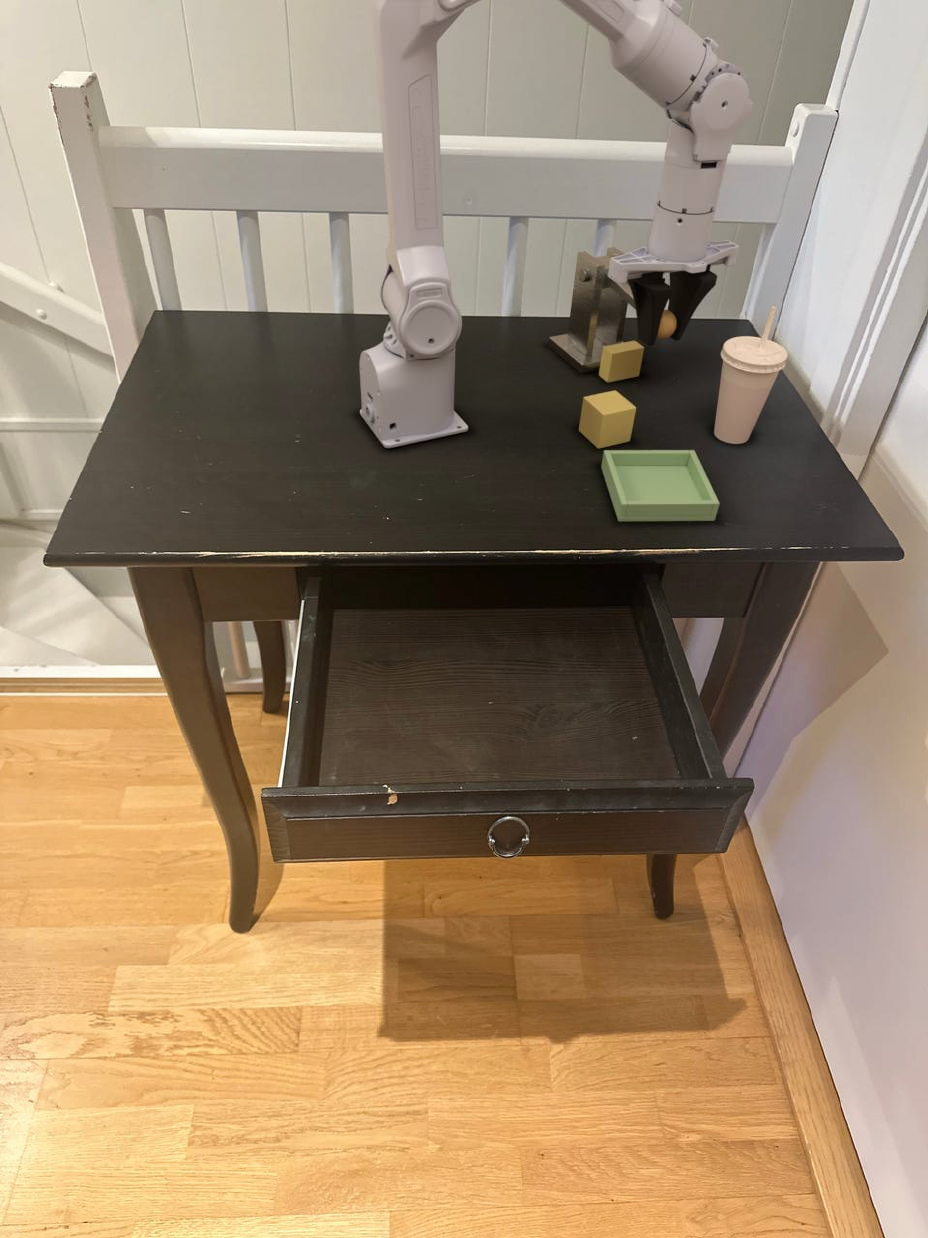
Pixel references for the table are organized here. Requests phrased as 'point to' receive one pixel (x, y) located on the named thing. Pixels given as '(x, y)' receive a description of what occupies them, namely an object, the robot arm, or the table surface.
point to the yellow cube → (607, 419)
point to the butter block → (621, 361)
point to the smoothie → (746, 382)
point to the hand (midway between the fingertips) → (658, 339)
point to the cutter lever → (624, 290)
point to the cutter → (591, 316)
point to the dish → (658, 485)
